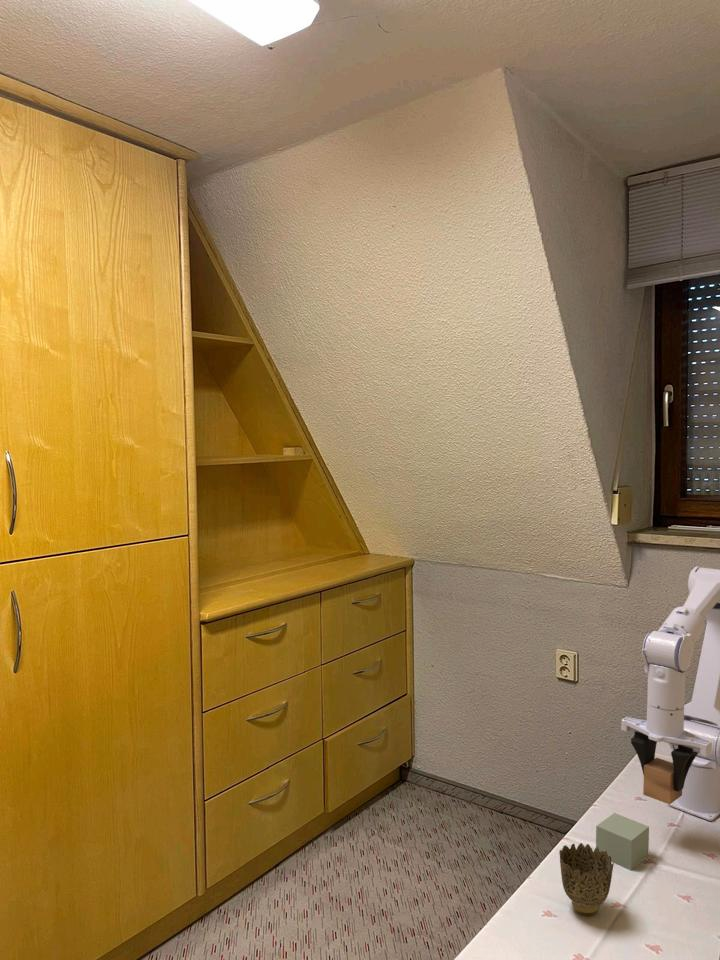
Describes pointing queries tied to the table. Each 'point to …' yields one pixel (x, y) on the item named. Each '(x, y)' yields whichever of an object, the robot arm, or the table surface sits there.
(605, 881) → the cup
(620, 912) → the table surface
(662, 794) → the walnut block
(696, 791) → the robot arm
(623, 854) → the grey block
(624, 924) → the table surface
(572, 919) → the table surface
